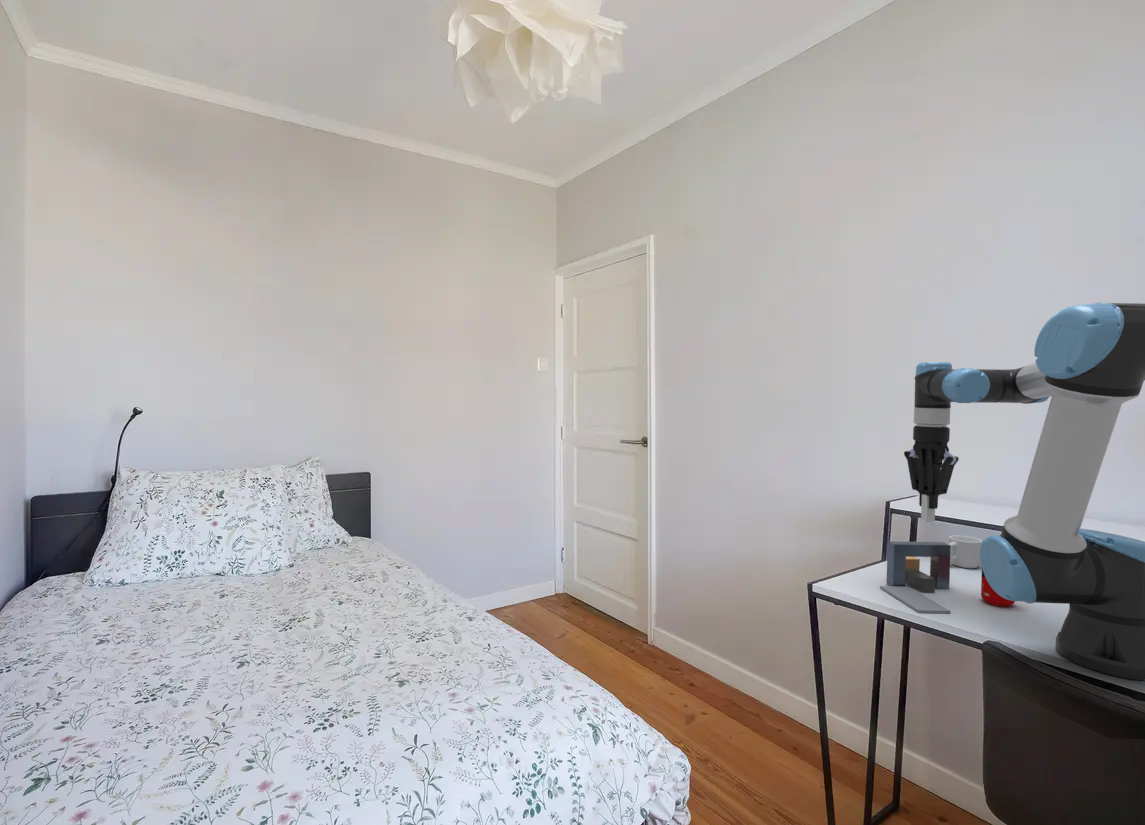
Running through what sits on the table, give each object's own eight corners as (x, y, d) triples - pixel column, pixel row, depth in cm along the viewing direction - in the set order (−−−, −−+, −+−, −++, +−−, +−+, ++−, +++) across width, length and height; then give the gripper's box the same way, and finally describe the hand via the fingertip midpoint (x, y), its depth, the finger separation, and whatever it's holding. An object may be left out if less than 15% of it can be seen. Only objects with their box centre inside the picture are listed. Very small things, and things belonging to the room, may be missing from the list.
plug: (938, 593, 138) (939, 568, 138) (918, 592, 138) (918, 568, 138) (907, 576, 151) (908, 553, 151) (889, 575, 151) (889, 553, 151)
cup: (958, 571, 155) (959, 543, 155) (933, 563, 163) (934, 536, 163) (989, 569, 158) (990, 541, 158) (963, 561, 166) (964, 534, 165)
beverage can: (1004, 599, 134) (1005, 549, 134) (1021, 609, 128) (1022, 556, 128) (975, 597, 135) (976, 547, 135) (990, 607, 129) (992, 555, 129)
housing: (949, 588, 141) (950, 545, 141) (893, 588, 141) (894, 544, 141) (941, 584, 144) (942, 542, 144) (886, 584, 144) (887, 541, 144)
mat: (950, 613, 125) (950, 610, 125) (918, 613, 125) (918, 610, 125) (908, 588, 141) (908, 586, 141) (880, 588, 141) (880, 586, 141)
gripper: (968, 427, 133) (964, 526, 134) (919, 423, 145) (915, 514, 146) (945, 427, 131) (941, 528, 132) (896, 423, 143) (893, 516, 144)
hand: (927, 520), depth 139 cm, fingers closed
